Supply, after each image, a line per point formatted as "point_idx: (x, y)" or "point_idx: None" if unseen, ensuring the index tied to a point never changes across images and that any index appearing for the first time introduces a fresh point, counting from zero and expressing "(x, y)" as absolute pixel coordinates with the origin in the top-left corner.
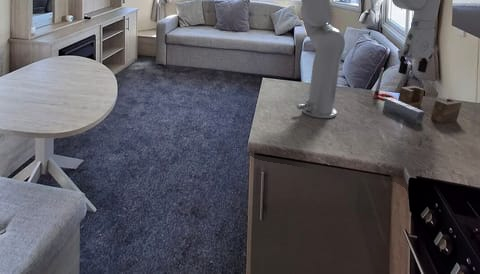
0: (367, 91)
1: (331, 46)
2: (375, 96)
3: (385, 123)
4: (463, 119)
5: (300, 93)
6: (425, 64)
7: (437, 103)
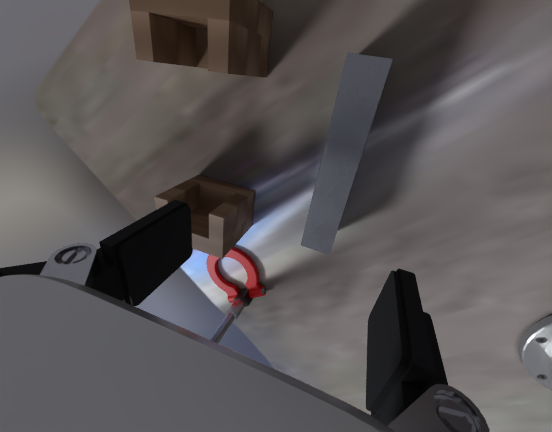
0: None
1: None
2: (261, 290)
3: (500, 145)
4: None
5: None
6: (138, 239)
7: (234, 57)
